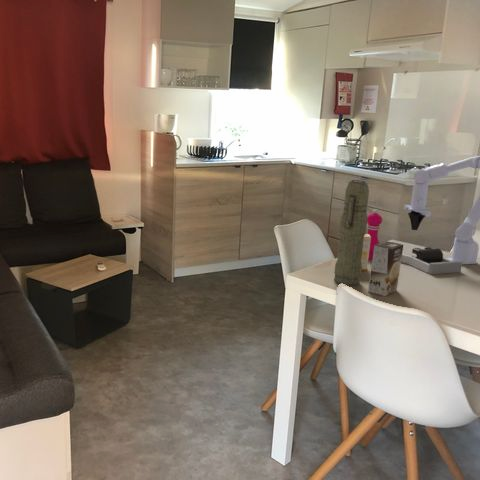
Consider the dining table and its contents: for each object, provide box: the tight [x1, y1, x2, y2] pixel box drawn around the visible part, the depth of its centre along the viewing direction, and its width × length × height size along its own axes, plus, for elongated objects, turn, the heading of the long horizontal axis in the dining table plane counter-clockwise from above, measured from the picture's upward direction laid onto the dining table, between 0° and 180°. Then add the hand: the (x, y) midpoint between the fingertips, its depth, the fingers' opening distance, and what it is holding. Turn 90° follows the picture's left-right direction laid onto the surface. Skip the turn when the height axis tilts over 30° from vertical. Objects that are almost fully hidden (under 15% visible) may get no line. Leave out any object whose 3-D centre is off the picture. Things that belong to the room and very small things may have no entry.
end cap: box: [411, 246, 444, 264], centre depth 212 cm, size 10×7×7 cm
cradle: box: [401, 253, 463, 275], centre depth 211 cm, size 18×17×4 cm
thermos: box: [333, 179, 370, 287], centre depth 182 cm, size 9×12×35 cm
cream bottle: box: [361, 233, 371, 271], centre depth 201 cm, size 8×5×13 cm, turn 84°
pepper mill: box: [366, 209, 383, 261], centre depth 215 cm, size 7×7×20 cm
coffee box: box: [367, 240, 404, 297], centre depth 178 cm, size 9×6×16 cm
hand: (414, 229), depth 228 cm, fingers closed
